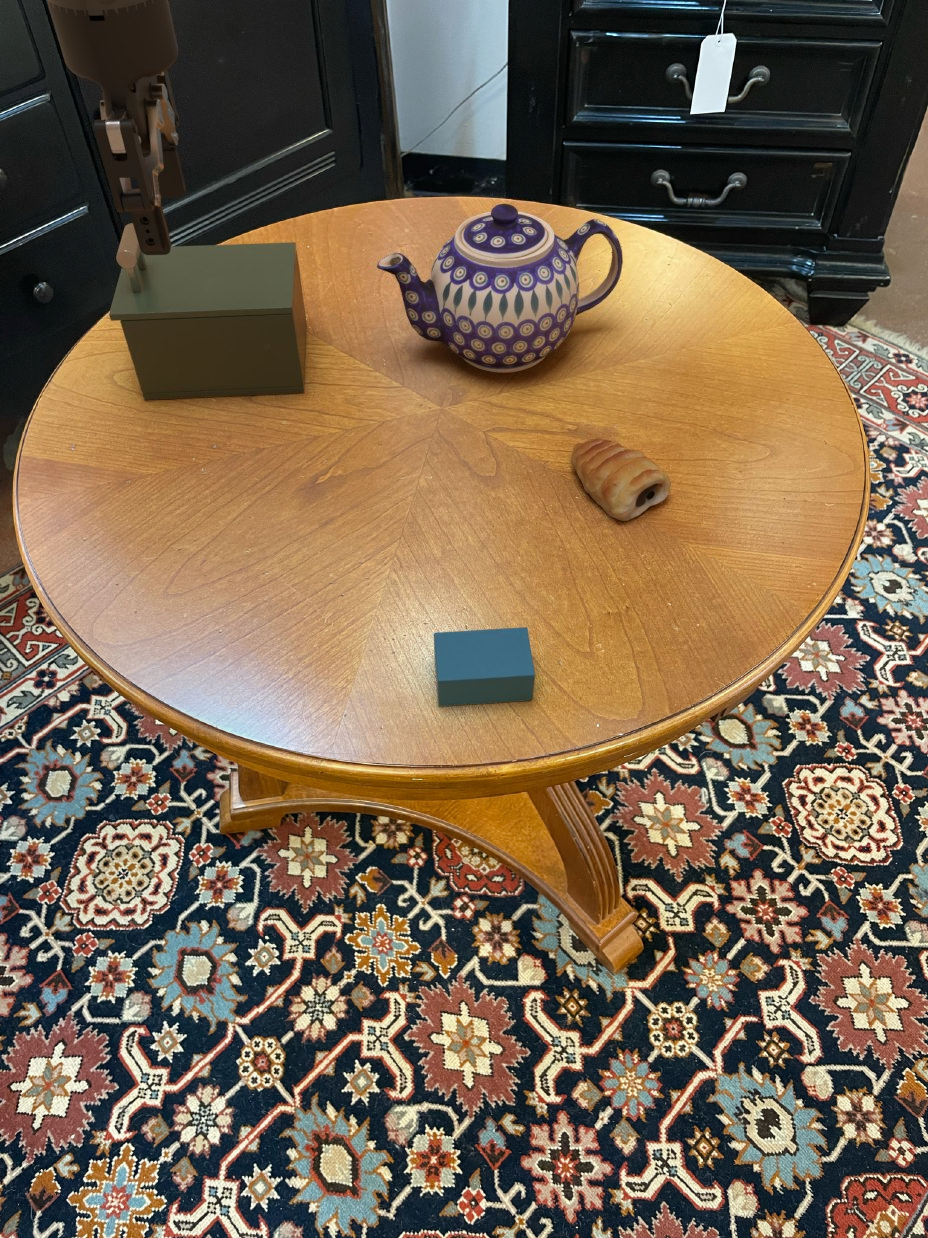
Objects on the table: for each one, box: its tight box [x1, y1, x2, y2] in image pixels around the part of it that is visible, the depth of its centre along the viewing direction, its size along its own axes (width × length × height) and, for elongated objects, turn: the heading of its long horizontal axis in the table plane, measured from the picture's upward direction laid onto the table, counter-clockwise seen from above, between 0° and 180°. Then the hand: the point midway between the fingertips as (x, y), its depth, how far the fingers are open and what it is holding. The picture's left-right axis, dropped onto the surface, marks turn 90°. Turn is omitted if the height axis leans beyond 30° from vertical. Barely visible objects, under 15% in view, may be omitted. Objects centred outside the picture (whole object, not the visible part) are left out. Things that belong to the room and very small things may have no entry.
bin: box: [119, 249, 308, 401], centre depth 94 cm, size 16×12×9 cm
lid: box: [108, 222, 297, 322], centre depth 89 cm, size 16×12×5 cm
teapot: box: [376, 203, 624, 374], centre depth 94 cm, size 25×15×15 cm, turn 103°
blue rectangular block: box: [433, 626, 536, 707], centre depth 71 cm, size 7×4×3 cm, turn 95°
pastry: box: [570, 437, 672, 522], centre depth 85 cm, size 9×7×4 cm
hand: (165, 223), depth 74 cm, fingers open, 8 cm apart
